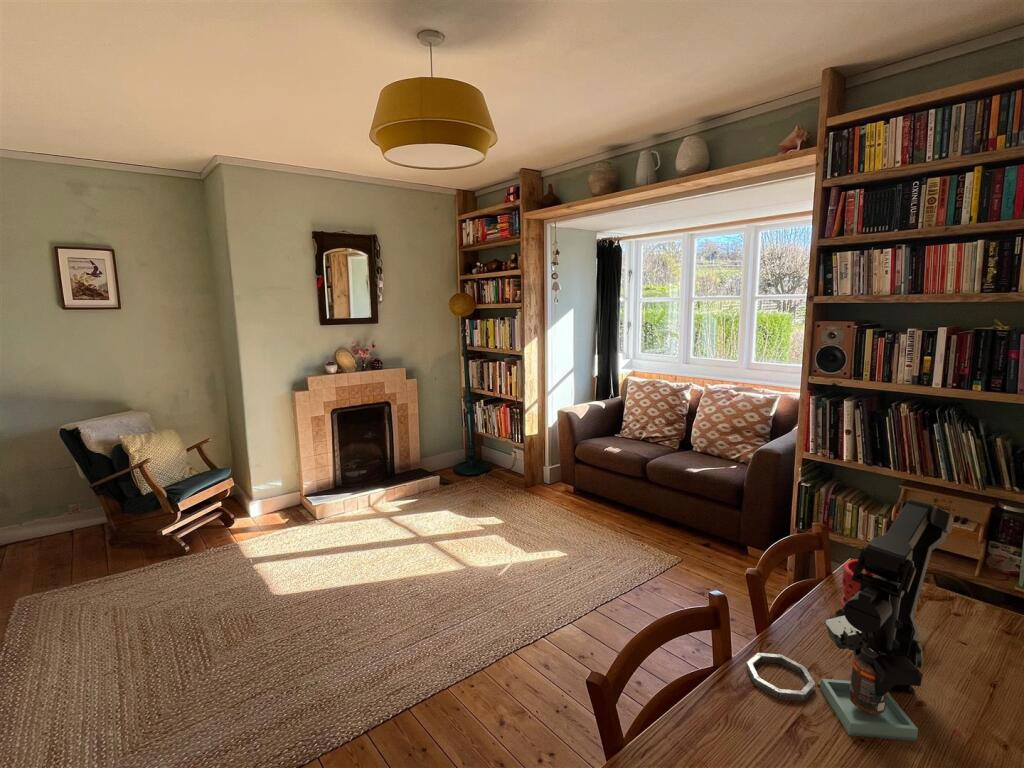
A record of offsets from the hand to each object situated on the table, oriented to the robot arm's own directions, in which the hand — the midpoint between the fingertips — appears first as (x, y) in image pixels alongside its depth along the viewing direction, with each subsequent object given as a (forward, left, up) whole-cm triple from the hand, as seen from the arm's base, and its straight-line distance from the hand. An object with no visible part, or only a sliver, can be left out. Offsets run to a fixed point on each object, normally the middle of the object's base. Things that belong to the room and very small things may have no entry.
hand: (869, 683), depth 102 cm
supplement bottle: (0, 0, -5) cm, 5 cm away
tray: (0, 0, -7) cm, 7 cm away
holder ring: (+13, -8, -7) cm, 17 cm away
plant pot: (-19, -35, -7) cm, 40 cm away
